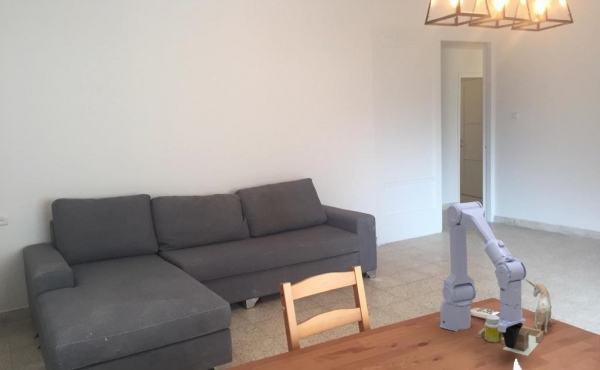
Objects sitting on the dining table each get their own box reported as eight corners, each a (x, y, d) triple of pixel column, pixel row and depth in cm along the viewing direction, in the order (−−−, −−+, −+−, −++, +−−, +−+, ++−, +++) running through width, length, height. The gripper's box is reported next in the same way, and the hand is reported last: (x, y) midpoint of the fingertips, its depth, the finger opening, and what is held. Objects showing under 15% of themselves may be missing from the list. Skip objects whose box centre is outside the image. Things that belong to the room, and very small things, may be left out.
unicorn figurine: (546, 316, 175) (547, 279, 173) (561, 340, 156) (561, 299, 154) (524, 315, 176) (525, 278, 175) (536, 339, 158) (536, 298, 156)
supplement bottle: (502, 346, 154) (502, 320, 153) (486, 345, 155) (486, 319, 154) (499, 339, 159) (499, 314, 158) (483, 338, 160) (483, 313, 159)
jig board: (473, 344, 156) (473, 335, 156) (492, 326, 168) (492, 318, 168) (527, 358, 145) (527, 349, 145) (544, 339, 157) (544, 330, 157)
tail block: (510, 348, 150) (510, 332, 150) (515, 343, 153) (515, 327, 153) (524, 351, 148) (524, 335, 147) (528, 346, 151) (528, 331, 150)
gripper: (515, 313, 135) (515, 360, 136) (533, 297, 145) (533, 341, 147) (490, 307, 139) (490, 353, 141) (508, 293, 150) (508, 335, 152)
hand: (510, 347), depth 144 cm, fingers closed
